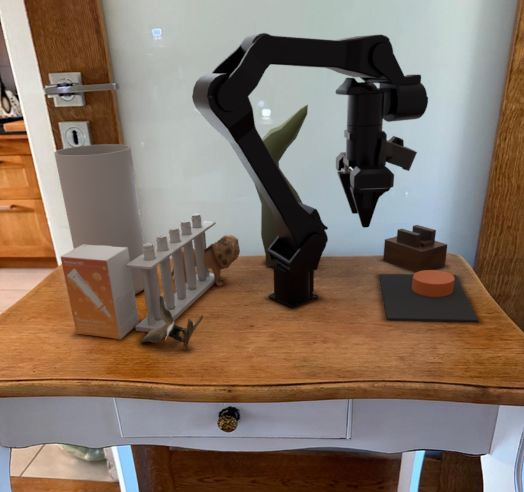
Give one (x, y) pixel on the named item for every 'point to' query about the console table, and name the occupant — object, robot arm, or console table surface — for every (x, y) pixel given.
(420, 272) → the disc
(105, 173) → the cylinder vase
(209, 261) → the lion figurine
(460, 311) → the mat
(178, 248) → the test tube rack
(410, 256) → the brown notched block
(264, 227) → the tentacle
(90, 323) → the small box
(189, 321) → the eagle figurine
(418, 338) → the console table surface
